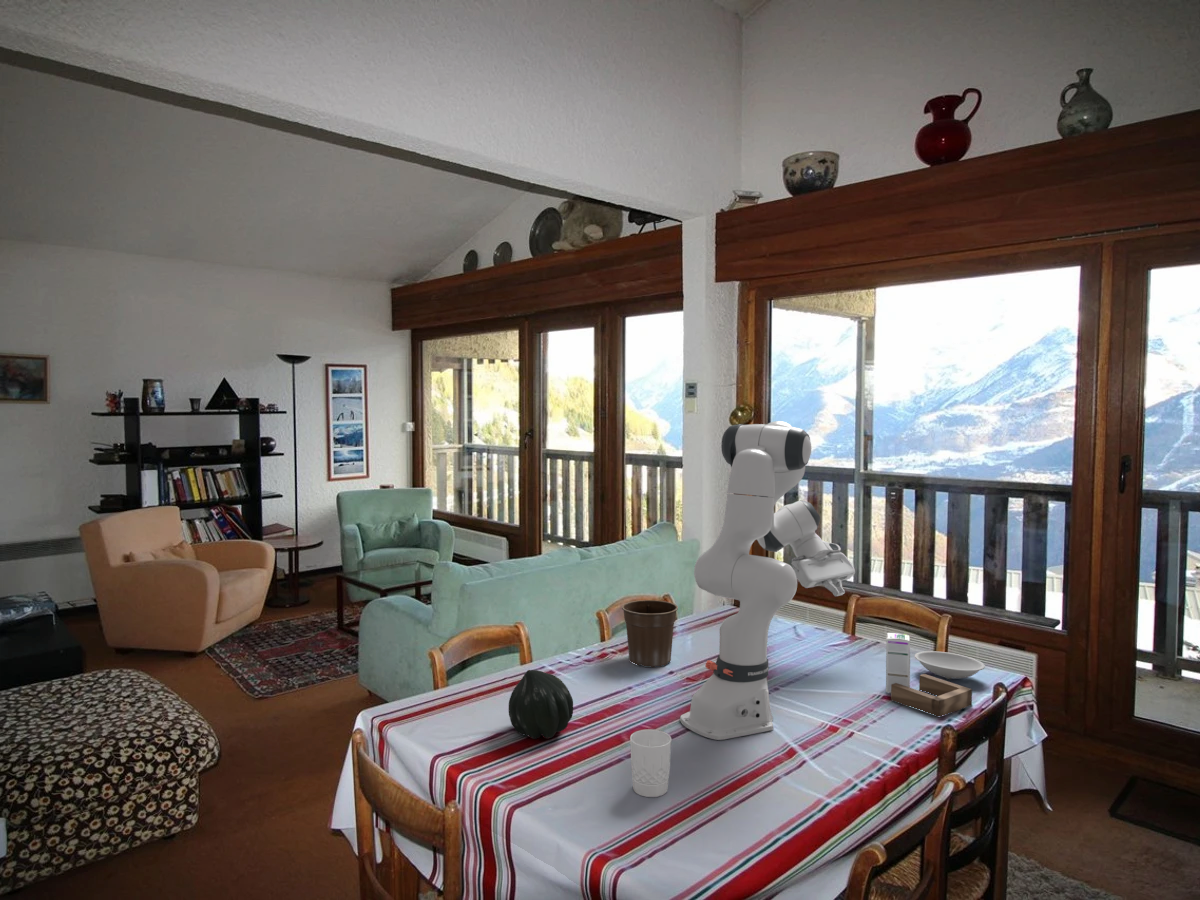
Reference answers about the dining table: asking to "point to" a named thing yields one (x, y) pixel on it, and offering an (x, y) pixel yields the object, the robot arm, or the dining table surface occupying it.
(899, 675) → the syrup box
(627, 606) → the plant pot
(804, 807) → the dining table surface
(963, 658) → the dish
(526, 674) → the squash
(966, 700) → the walnut bay
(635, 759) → the white cup
